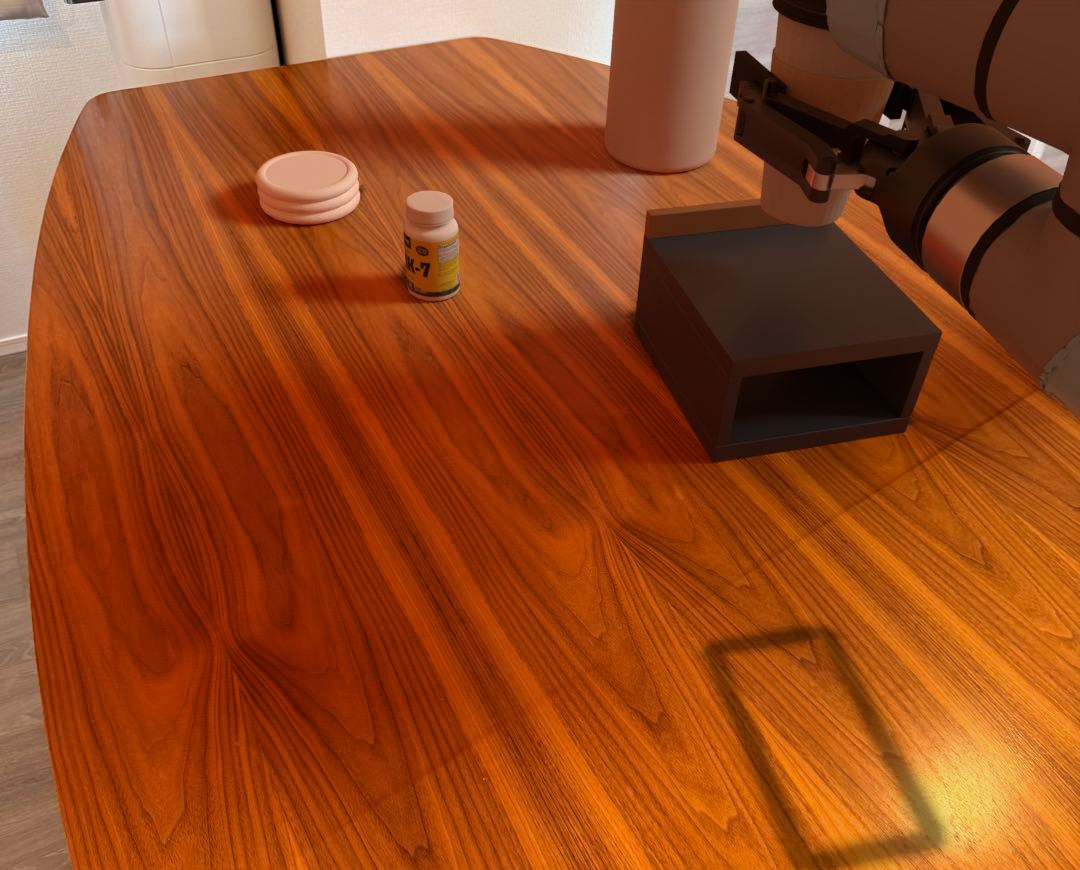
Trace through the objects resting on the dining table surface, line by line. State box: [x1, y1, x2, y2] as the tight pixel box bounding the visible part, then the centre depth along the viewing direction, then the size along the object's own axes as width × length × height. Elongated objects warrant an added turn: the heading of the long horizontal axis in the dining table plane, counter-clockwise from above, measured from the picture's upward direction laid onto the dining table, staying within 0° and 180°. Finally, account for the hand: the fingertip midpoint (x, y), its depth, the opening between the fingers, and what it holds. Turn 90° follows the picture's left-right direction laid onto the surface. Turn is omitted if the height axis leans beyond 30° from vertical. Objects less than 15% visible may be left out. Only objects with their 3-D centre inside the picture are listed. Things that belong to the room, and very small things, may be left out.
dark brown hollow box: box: [633, 197, 944, 463], centre depth 75 cm, size 18×16×11 cm
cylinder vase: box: [604, 0, 740, 174], centre depth 101 cm, size 12×12×25 cm
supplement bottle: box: [402, 189, 461, 302], centre depth 85 cm, size 5×5×8 cm
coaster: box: [254, 150, 361, 226], centre depth 97 cm, size 10×10×4 cm
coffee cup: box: [760, 0, 895, 227], centre depth 65 cm, size 9×9×15 cm
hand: (796, 67), depth 67 cm, fingers closed on coffee cup, 8 cm apart
